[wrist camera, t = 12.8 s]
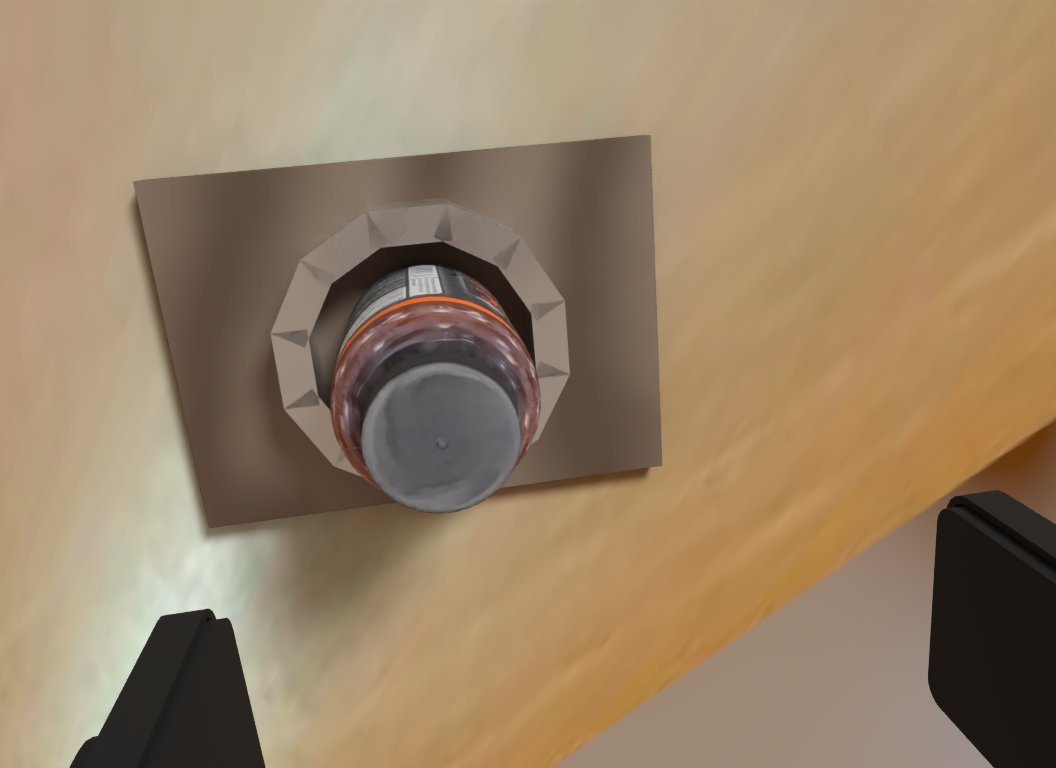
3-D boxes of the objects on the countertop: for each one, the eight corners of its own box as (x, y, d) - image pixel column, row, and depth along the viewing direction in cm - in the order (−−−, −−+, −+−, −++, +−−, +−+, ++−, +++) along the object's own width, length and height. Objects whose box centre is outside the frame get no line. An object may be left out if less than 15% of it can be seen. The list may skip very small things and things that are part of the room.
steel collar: (544, 188, 30) (557, 193, 28) (563, 444, 33) (576, 468, 31) (262, 215, 29) (250, 223, 27) (308, 478, 32) (301, 505, 30)
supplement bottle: (535, 361, 32) (604, 477, 22) (402, 441, 32) (405, 595, 22) (454, 227, 30) (486, 280, 20) (314, 312, 30) (269, 411, 20)
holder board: (642, 135, 31) (650, 135, 30) (655, 456, 35) (662, 465, 34) (141, 179, 29) (133, 182, 28) (214, 516, 33) (209, 528, 32)
